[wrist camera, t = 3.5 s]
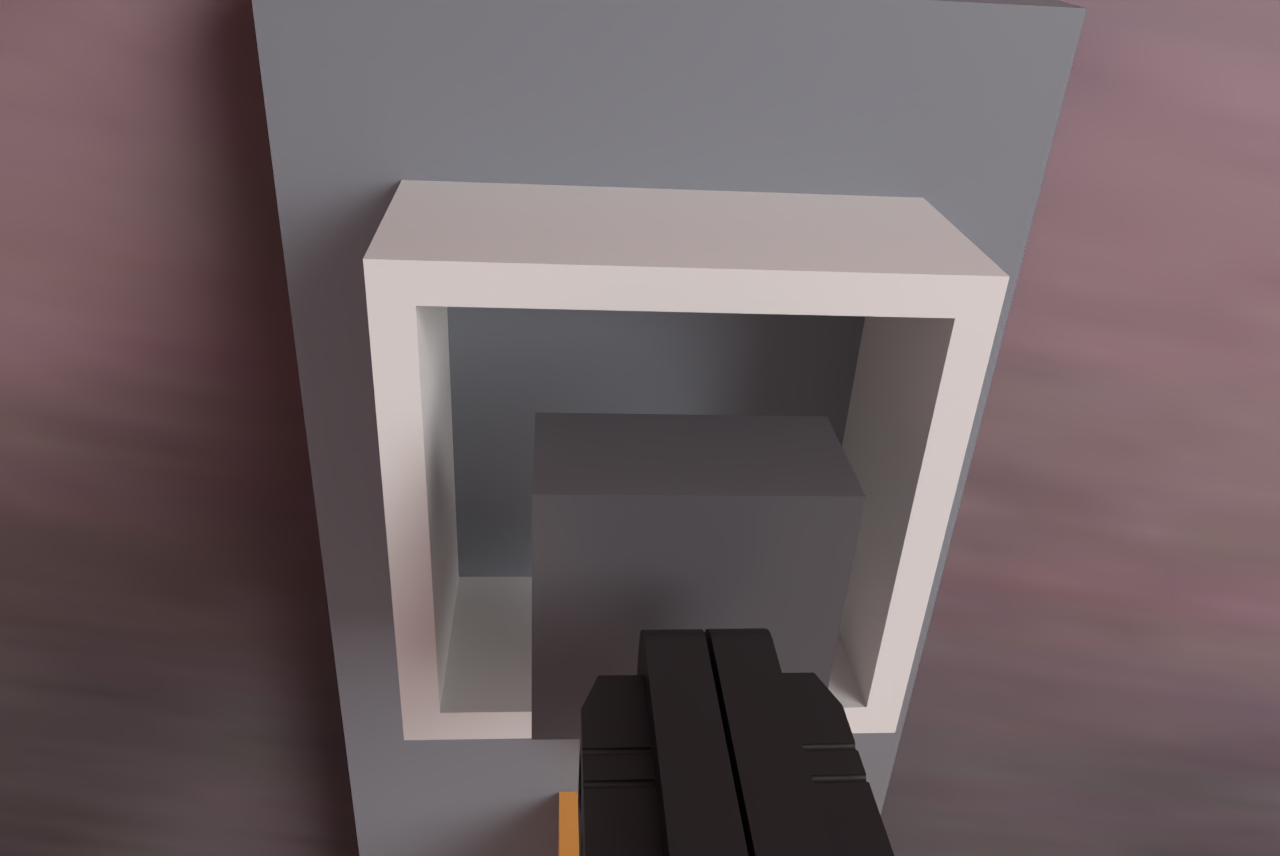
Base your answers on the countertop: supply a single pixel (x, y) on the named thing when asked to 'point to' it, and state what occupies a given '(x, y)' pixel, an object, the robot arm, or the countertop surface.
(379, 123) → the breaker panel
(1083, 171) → the countertop surface
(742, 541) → the button
